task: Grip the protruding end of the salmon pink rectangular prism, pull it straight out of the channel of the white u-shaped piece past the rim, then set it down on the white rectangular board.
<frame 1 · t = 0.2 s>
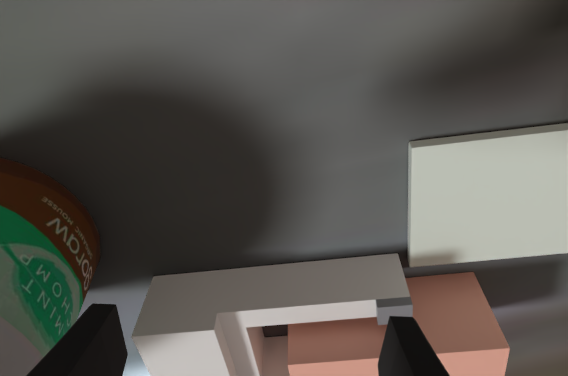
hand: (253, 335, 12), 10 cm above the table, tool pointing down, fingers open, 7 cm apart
salmon pink rectangular prism: (379, 298, 26), on the table
food container: (55, 215, 23), on the table
white u-shaped piece: (327, 305, 26), on the table
white rectangular board: (548, 191, 21), on the table
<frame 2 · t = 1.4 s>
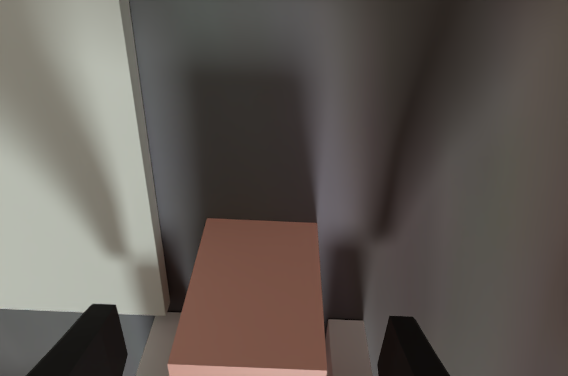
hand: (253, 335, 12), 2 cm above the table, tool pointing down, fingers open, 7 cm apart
salmon pink rectangular prism: (260, 330, 16), on the table
white rectangular board: (6, 115, 11), on the table
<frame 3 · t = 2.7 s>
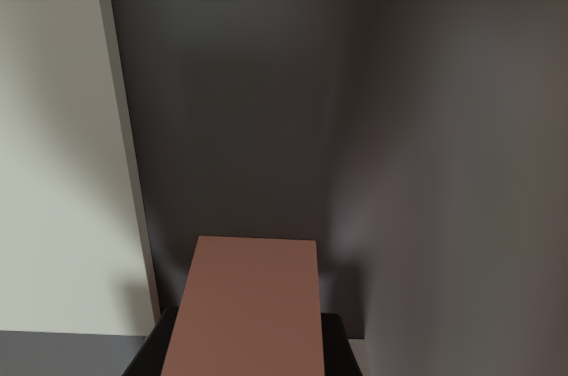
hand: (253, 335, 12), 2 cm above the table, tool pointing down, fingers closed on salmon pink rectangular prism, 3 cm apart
salmon pink rectangular prism: (256, 353, 15), on the table, touching gripper
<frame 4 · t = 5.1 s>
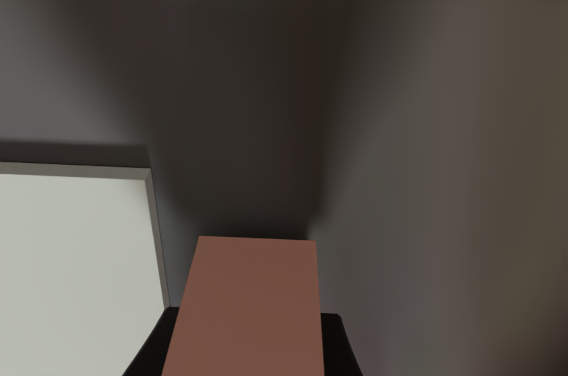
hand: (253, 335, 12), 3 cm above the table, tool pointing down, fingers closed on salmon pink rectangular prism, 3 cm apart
salmon pink rectangular prism: (256, 352, 15), point 1 cm above the table, touching gripper
white rectangular board: (73, 323, 16), on the table
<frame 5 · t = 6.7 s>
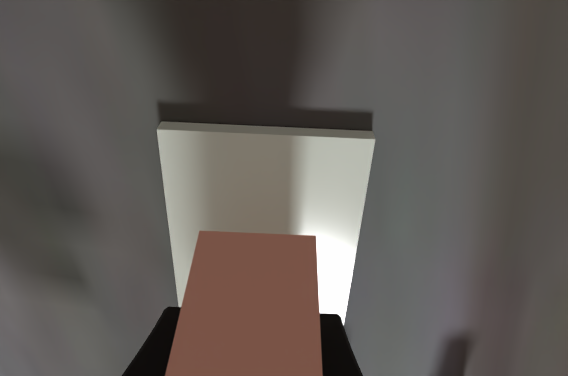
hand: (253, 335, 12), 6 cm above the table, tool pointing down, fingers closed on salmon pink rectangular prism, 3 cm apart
salmon pink rectangular prism: (257, 336, 16), point 3 cm above the table, tilted 6°, touching gripper
white rectangular board: (263, 270, 18), on the table
when the fingers open (4 cm above the table, at t = 7.8 s): salmon pink rectangular prism stays where it is, resting on white rectangular board.
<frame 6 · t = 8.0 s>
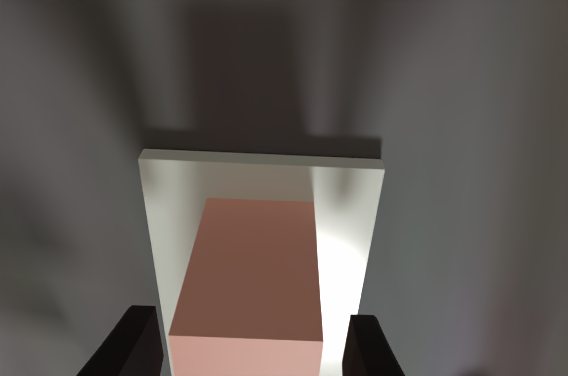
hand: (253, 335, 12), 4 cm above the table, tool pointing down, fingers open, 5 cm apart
salmon pink rectangular prism: (259, 314, 16), point 1 cm above the table, touching white rectangular board
white rectangular board: (260, 306, 17), on the table
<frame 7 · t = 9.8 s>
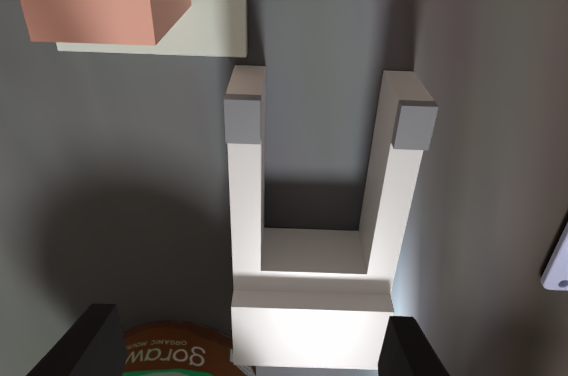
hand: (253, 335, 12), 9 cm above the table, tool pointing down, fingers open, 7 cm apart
food container: (168, 339, 27), on the table
white u-shaped piece: (317, 157, 20), on the table
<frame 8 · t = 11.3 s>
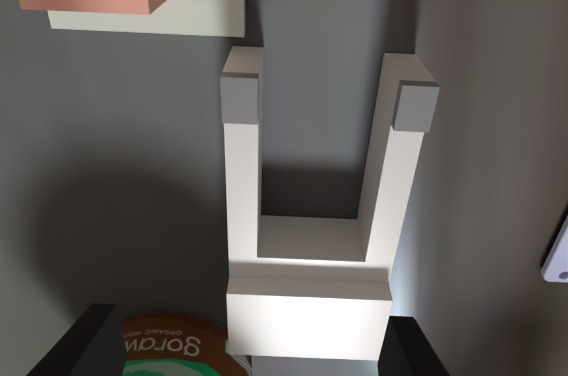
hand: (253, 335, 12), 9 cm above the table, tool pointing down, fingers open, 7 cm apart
food container: (163, 330, 27), on the table
white u-shaped piece: (315, 143, 19), on the table
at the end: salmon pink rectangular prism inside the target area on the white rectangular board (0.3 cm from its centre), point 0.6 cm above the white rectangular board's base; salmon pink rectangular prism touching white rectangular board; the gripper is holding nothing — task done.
